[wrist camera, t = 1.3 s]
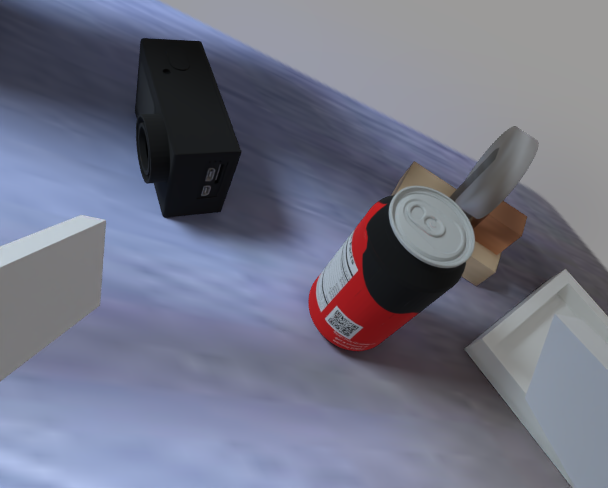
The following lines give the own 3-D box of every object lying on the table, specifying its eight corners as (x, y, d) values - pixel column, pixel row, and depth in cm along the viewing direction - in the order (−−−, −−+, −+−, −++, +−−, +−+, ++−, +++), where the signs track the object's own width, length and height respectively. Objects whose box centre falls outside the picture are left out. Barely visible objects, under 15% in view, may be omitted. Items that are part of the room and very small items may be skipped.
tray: (464, 348, 38) (481, 338, 36) (547, 280, 45) (565, 268, 43) (586, 505, 35) (612, 502, 33) (655, 404, 42) (680, 397, 40)
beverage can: (356, 375, 34) (458, 300, 24) (286, 314, 34) (358, 218, 25) (397, 313, 38) (500, 228, 28) (333, 260, 38) (412, 159, 29)
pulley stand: (374, 223, 42) (453, 128, 32) (402, 175, 46) (478, 78, 37) (475, 290, 41) (581, 213, 32) (493, 236, 46) (592, 153, 37)
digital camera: (118, 110, 39) (121, 34, 33) (187, 109, 41) (201, 38, 36) (145, 220, 35) (154, 154, 29) (220, 212, 37) (242, 150, 32)
